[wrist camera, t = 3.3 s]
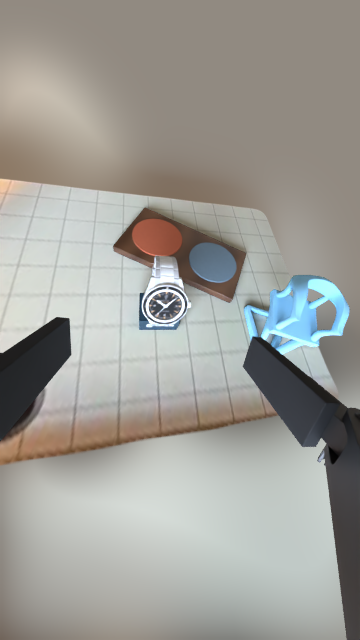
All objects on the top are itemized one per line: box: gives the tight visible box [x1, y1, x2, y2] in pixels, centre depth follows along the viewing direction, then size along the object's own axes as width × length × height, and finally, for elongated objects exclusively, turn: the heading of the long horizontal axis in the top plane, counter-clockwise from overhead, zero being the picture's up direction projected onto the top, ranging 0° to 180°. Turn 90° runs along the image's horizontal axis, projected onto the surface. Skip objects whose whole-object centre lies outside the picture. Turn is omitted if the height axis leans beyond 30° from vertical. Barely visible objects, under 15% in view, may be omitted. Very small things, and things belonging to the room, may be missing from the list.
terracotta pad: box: [132, 219, 182, 256], centre depth 33 cm, size 9×9×1 cm
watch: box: [139, 255, 191, 330], centre depth 23 cm, size 6×8×11 cm
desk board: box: [113, 208, 246, 303], centre depth 34 cm, size 22×12×1 cm, turn 69°
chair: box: [244, 275, 350, 354], centre depth 25 cm, size 8×8×12 cm
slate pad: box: [189, 243, 236, 283], centre depth 33 cm, size 9×9×1 cm
